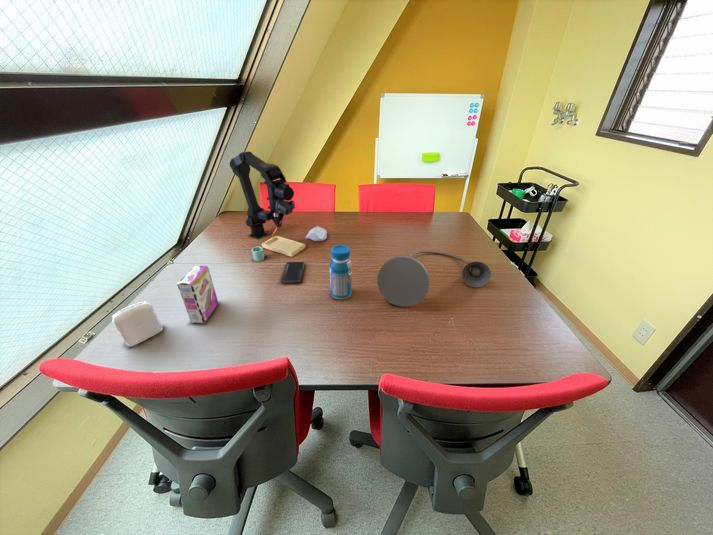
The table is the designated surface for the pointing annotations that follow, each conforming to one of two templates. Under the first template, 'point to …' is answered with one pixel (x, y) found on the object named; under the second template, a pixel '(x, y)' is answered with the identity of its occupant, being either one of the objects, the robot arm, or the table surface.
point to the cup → (258, 253)
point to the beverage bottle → (340, 272)
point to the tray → (283, 245)
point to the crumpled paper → (317, 234)
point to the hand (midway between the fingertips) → (279, 227)
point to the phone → (293, 272)
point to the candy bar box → (198, 294)
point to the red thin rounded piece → (276, 228)
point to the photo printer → (137, 323)
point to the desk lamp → (420, 278)
